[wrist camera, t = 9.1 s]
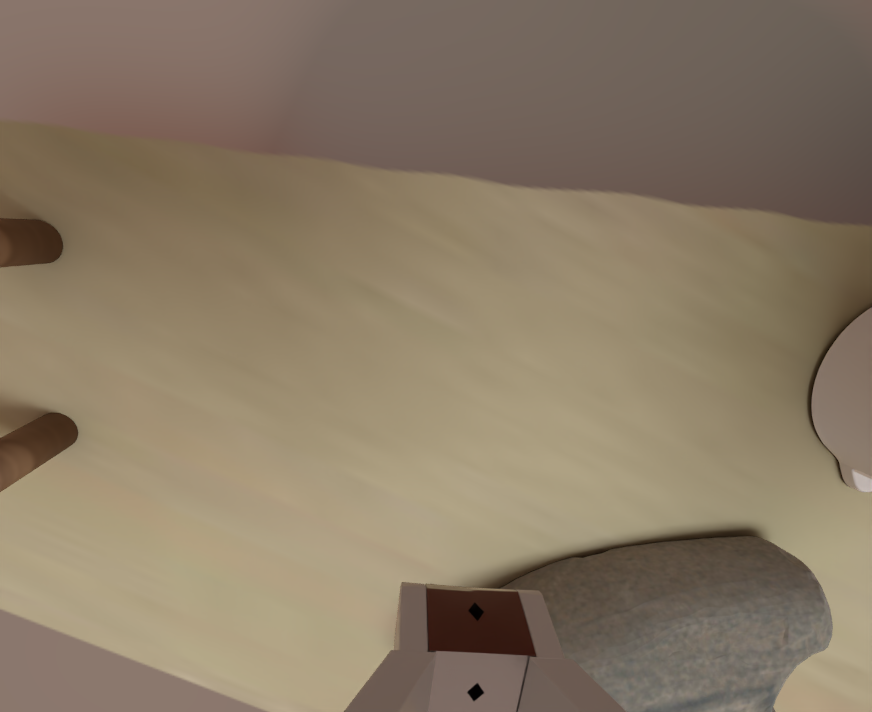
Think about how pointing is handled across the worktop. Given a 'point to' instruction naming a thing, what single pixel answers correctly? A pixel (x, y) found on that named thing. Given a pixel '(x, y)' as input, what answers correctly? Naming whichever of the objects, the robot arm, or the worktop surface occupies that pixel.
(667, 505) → the worktop surface
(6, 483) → the post
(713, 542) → the stone
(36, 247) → the post
